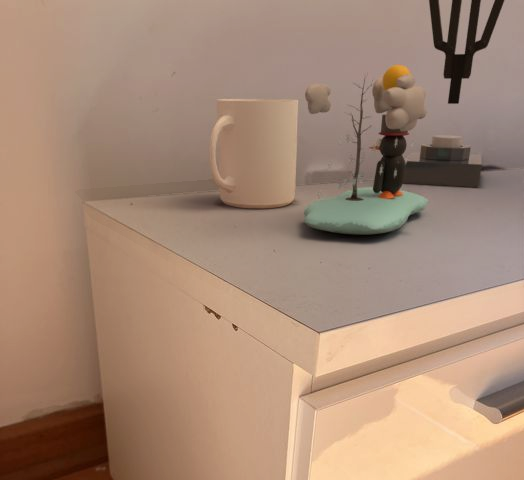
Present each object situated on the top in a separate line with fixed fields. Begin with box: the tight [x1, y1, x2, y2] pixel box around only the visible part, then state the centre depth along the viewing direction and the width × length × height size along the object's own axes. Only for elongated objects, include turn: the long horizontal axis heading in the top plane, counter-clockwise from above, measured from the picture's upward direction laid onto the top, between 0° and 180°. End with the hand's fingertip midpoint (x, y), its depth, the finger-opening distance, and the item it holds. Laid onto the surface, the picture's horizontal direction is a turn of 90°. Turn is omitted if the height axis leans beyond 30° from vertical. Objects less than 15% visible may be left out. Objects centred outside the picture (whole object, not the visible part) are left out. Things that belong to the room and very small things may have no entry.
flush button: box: [430, 134, 463, 147], centre depth 88 cm, size 4×4×2 cm
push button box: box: [403, 142, 483, 188], centre depth 89 cm, size 11×13×5 cm
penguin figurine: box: [303, 64, 429, 236], centre depth 58 cm, size 20×11×15 cm, turn 149°
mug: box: [208, 98, 299, 210], centre depth 68 cm, size 10×12×12 cm
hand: (453, 103), depth 85 cm, fingers closed
